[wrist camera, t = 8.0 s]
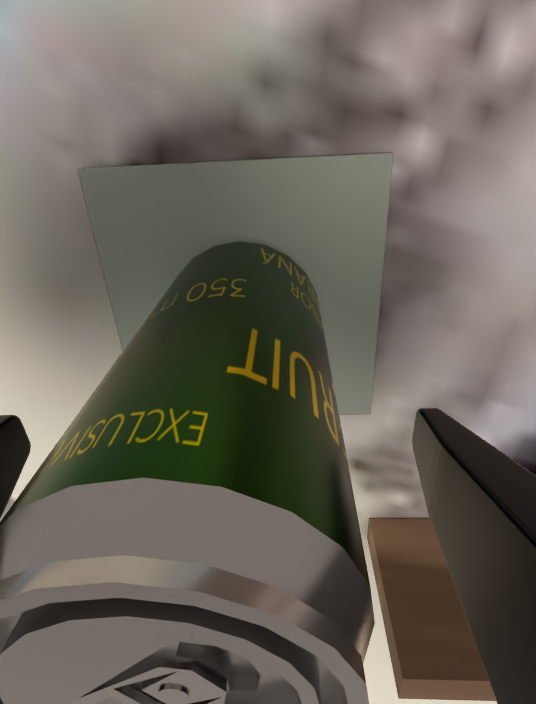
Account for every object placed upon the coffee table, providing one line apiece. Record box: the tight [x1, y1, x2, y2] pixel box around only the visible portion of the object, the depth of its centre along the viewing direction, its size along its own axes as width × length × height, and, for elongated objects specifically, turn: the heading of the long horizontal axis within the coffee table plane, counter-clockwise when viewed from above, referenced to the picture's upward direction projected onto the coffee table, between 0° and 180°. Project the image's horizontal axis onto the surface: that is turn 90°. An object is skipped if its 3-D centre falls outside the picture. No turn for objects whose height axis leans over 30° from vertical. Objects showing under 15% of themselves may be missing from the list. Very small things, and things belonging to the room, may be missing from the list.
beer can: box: [0, 241, 375, 704], centre depth 10 cm, size 5×5×12 cm
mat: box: [77, 152, 393, 415], centre depth 16 cm, size 10×10×1 cm
